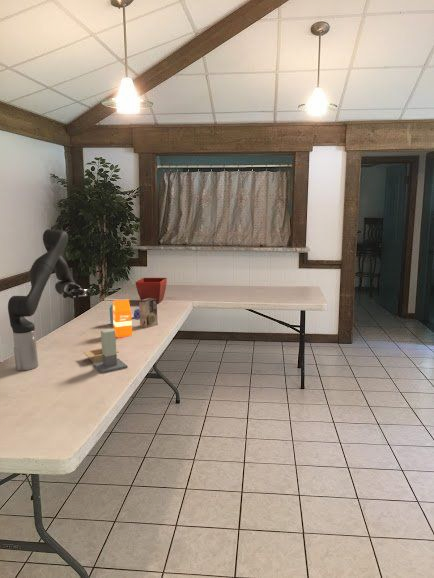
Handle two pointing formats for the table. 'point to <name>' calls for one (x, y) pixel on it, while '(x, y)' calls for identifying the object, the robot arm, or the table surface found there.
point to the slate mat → (104, 369)
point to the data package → (111, 315)
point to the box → (109, 347)
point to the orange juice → (122, 318)
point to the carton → (95, 355)
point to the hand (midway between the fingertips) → (81, 295)
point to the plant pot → (151, 288)
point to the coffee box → (148, 312)
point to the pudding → (136, 314)
